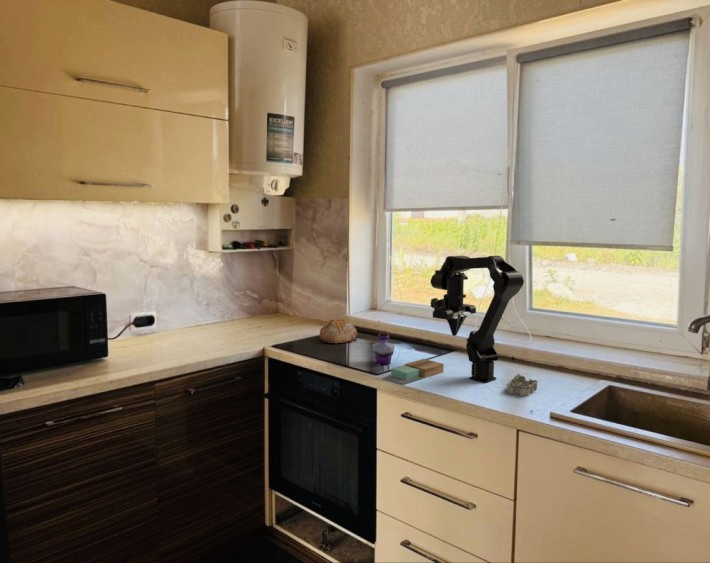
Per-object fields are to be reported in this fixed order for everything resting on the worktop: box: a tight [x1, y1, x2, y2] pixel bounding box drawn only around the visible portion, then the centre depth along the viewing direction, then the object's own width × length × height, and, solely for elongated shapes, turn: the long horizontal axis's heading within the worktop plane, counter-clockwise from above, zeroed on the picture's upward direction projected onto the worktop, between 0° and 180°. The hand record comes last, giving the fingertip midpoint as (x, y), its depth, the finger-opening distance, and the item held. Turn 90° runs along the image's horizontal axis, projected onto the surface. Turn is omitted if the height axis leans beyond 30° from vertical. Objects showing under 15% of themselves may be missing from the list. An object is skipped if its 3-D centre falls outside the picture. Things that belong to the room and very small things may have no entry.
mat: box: [382, 375, 424, 386], centre depth 182 cm, size 9×10×1 cm
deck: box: [404, 358, 444, 379], centre depth 190 cm, size 9×10×3 cm
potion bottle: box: [372, 330, 395, 366], centre depth 200 cm, size 9×9×12 cm
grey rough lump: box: [506, 373, 539, 397], centre depth 170 cm, size 11×8×4 cm
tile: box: [390, 364, 419, 380], centre depth 184 cm, size 7×6×2 cm
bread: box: [319, 319, 358, 345], centre depth 239 cm, size 16×20×10 cm
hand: (454, 335), depth 193 cm, fingers closed
